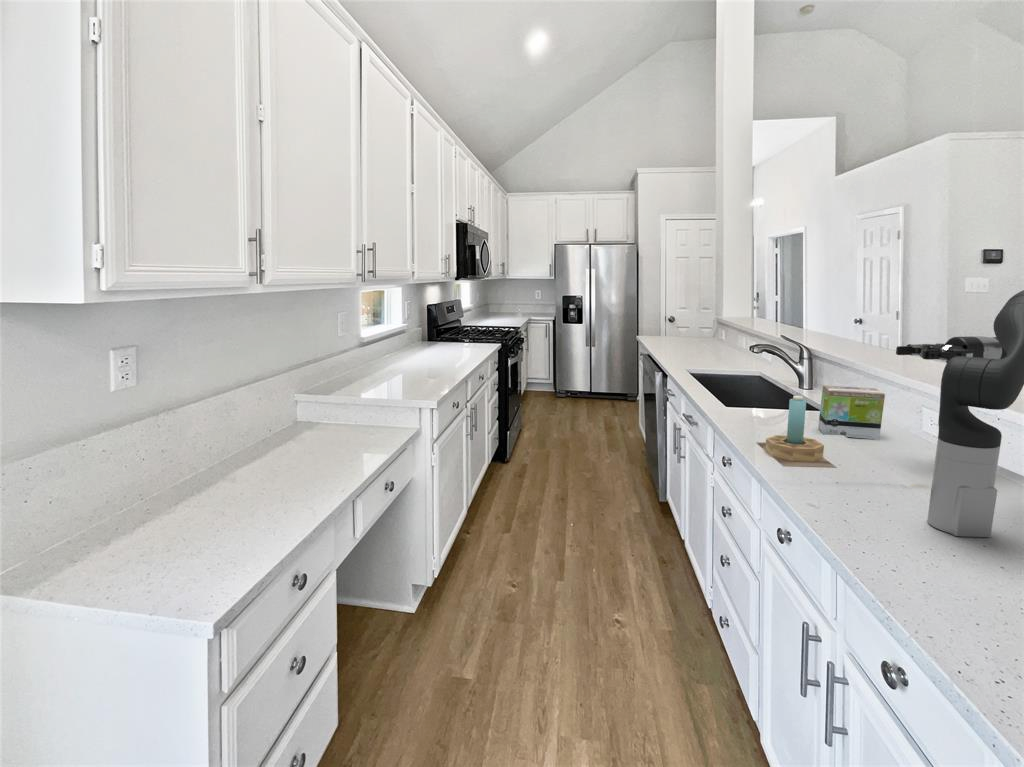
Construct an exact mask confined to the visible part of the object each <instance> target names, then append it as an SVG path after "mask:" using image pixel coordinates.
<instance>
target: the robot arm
mask: <svg viewBox="0 0 1024 767" xmlns="http://www.w3.org/2000/svg"><path fill="white" fill-rule="evenodd" d="M993 333H994V335H995V336H994V337H993V336H991V337H989V336H953V337H951V338H949V339H948V340H947V341H946V342H945V343H937V342H936V343H934V344H933V343H922V344H910V343H908V344H906V345H899V346H898V345H897V347H896V350H895V355H897V356H912V357H913V356H919V357H920V358H922V360H927V361H928V360H939V361H942V362H945V363H946V364H945V366H944V368H943V372H942V376H941V381H940V392H939V394H940V395H939V396H940V399H939V411H938V423H937V424H938V432H937V433H938V435H937V443H936V452H935V457H934V458H935V459H934V464H933V465H934V466H933V471H932V472H933V473H932V480H931V488H930V495H929V496H930V497H929V505H928V513H927V523H928V524H929V525H930V526H931V527H933V528H936V529H938V530H940V531H943V532H946V533H948V534H951V535H953V536H956V537H969V538H970V537H975V538H991V536H992V528H993V522H994V515H995V509H996V502H997V496H998V489H997V488H996V487H995V485H996V479H997V470H998V464H999V457H1000V450H1001V443H1002V436H1003V435H1002V432H1001V430H999V428H997V427H996V426H993V425H990V424H989V423H987V422H985V421H983V420H981V419H980V418H978V417H976V416H975V415H974V414H973V413H972V412H971V410H970V409H969V407H971V408H979V409H986V410H992V411H993V410H997V411H1000V410H1006V409H1008V408H1010V407H1011V406H1012V405H1013V404H1014V403H1015V402H1016V401H1017V399H1018V397H1019V396H1020V394H1021V391H1022V390H1023V388H1024V289H1023V290H1021V291H1019V292H1018V293H1015V294H1014V295H1013V296H1011V297H1010V298H1009V299H1008V300H1007V302H1006V303H1005V304H1004V306H1002V308H1001V310H1000V311H999V312H998V313H997V315H996V316H995V318H994V321H993Z"/></svg>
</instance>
